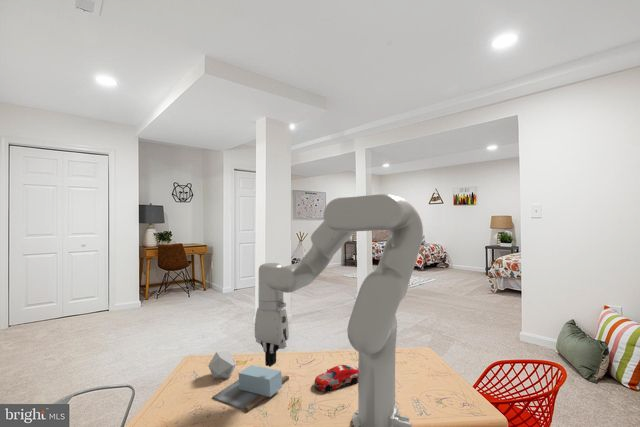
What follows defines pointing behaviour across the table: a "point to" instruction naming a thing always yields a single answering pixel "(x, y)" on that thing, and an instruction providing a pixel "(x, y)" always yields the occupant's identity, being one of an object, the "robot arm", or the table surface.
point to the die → (222, 365)
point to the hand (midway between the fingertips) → (270, 364)
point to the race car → (337, 377)
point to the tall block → (260, 380)
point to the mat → (241, 396)
